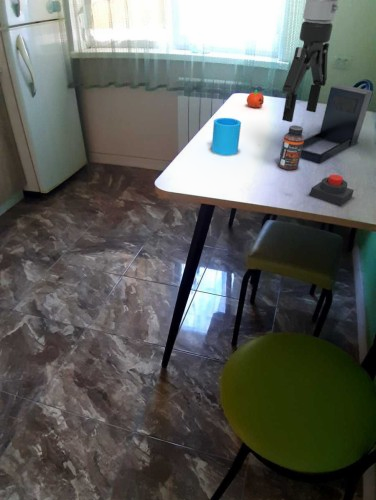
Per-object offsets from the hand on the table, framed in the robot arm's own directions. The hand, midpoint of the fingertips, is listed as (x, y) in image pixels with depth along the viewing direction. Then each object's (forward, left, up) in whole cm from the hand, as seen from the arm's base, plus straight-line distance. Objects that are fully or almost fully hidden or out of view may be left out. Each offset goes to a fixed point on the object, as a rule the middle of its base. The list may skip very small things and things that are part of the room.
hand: (299, 116), depth 115 cm
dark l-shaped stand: (0, -24, -14) cm, 28 cm away
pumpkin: (+44, -48, -15) cm, 67 cm away
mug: (+23, +1, -15) cm, 27 cm away
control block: (-19, +10, -14) cm, 26 cm away
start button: (-19, +10, -11) cm, 24 cm away
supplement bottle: (0, 0, -15) cm, 15 cm away
